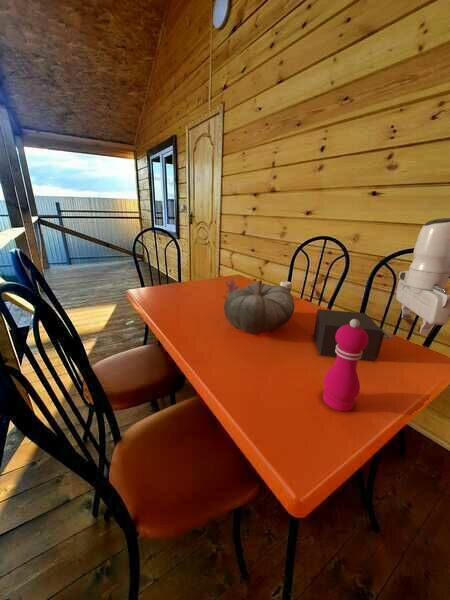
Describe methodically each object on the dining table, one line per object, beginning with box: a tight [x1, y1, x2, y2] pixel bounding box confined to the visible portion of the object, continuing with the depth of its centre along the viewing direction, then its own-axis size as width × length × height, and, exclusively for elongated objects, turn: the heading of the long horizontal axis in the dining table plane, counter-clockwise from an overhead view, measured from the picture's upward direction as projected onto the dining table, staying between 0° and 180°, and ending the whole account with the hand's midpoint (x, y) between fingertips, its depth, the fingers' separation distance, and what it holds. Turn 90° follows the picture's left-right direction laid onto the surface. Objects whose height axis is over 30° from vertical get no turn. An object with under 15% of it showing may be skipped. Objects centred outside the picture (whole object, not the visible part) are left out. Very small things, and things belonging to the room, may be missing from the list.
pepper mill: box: [322, 319, 368, 412], centre depth 53 cm, size 7×7×20 cm
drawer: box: [368, 316, 394, 359], centre depth 78 cm, size 18×12×8 cm, turn 80°
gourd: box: [223, 280, 296, 336], centre depth 90 cm, size 25×25×17 cm
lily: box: [223, 275, 240, 298], centre depth 120 cm, size 12×12×10 cm
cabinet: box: [313, 308, 382, 362], centre depth 78 cm, size 15×13×10 cm
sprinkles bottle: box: [279, 280, 293, 294], centre depth 103 cm, size 5×5×14 cm
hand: (413, 326), depth 74 cm, fingers open, 8 cm apart
